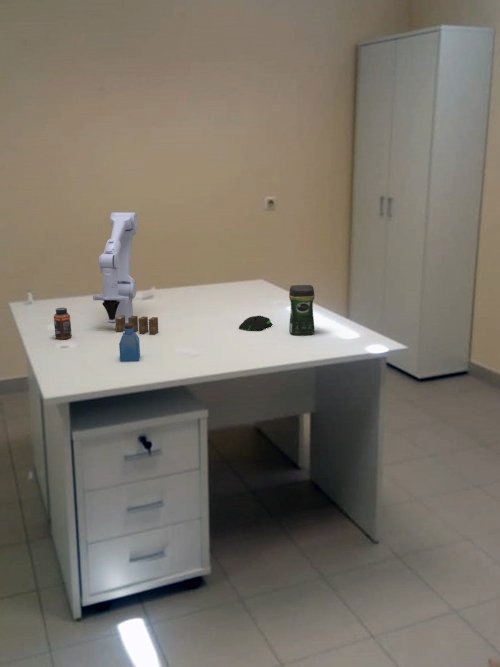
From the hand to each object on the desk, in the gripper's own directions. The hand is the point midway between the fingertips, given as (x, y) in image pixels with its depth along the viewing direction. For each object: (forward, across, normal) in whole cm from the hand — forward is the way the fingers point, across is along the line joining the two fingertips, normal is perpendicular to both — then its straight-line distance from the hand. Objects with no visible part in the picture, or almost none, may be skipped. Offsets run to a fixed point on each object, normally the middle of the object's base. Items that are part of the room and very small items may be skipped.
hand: (112, 319), depth 277 cm
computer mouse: (+5, +52, +22) cm, 57 cm away
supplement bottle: (+5, -12, -15) cm, 20 cm away
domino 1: (+4, +9, 0) cm, 10 cm away
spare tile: (+4, +4, 0) cm, 6 cm away
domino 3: (+4, +17, 0) cm, 18 cm away
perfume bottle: (+5, +24, -32) cm, 40 cm away
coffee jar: (+5, +71, +16) cm, 73 cm away
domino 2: (+4, +13, 0) cm, 14 cm away
